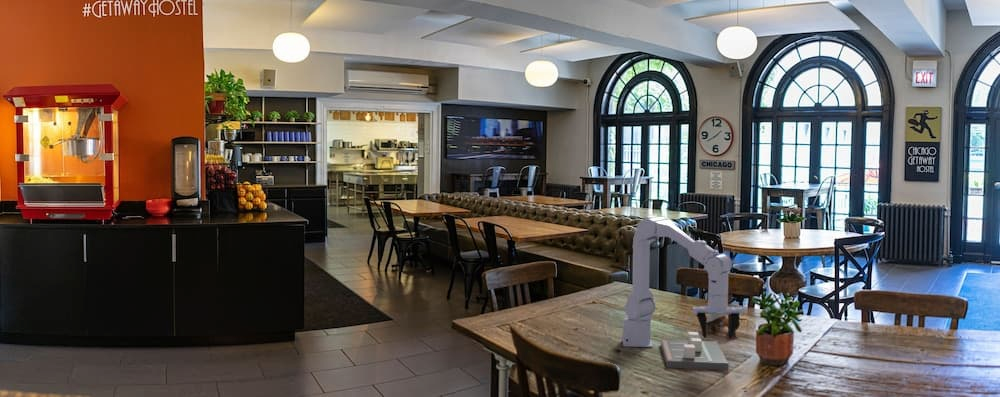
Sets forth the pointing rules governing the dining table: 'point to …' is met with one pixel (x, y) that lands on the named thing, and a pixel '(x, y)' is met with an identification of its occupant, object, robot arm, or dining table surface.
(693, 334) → the block
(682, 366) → the panel
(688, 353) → the block
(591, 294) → the dining table surface
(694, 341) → the block
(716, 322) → the pottery mug
